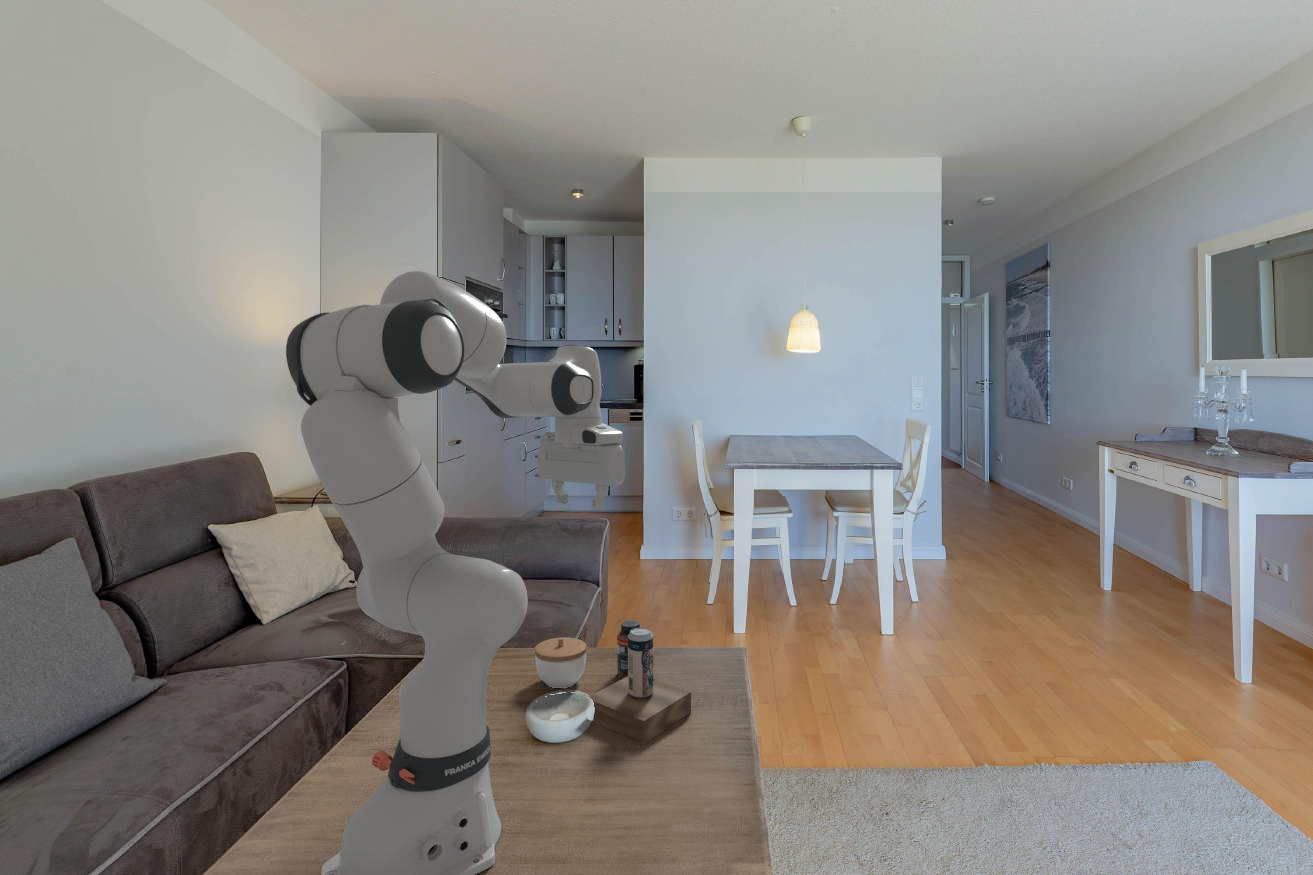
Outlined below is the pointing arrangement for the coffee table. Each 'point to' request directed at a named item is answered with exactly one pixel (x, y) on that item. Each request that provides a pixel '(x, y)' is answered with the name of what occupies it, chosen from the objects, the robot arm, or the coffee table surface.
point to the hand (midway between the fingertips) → (579, 505)
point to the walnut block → (640, 709)
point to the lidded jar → (560, 661)
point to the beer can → (640, 663)
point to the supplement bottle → (624, 646)
